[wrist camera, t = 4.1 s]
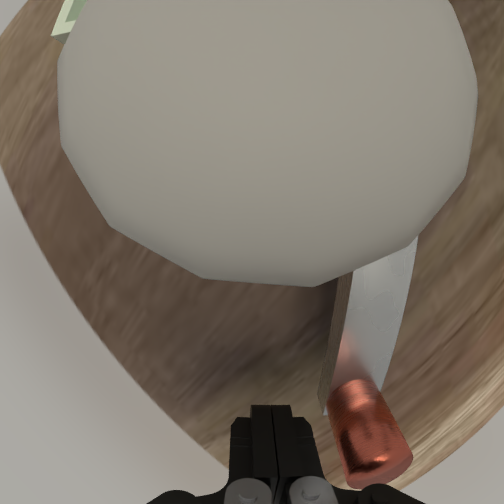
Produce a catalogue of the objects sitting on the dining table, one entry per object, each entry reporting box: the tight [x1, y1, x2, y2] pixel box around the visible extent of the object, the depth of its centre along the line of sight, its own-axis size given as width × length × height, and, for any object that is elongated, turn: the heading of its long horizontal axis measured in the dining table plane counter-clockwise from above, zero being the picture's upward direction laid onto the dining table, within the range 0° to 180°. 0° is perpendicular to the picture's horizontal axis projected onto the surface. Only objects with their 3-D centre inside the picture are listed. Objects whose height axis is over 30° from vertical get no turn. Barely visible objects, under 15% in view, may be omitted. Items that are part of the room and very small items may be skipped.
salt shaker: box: [57, 0, 478, 287], centre depth 8 cm, size 6×6×13 cm
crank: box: [317, 236, 418, 489], centre depth 9 cm, size 20×4×7 cm, turn 176°
